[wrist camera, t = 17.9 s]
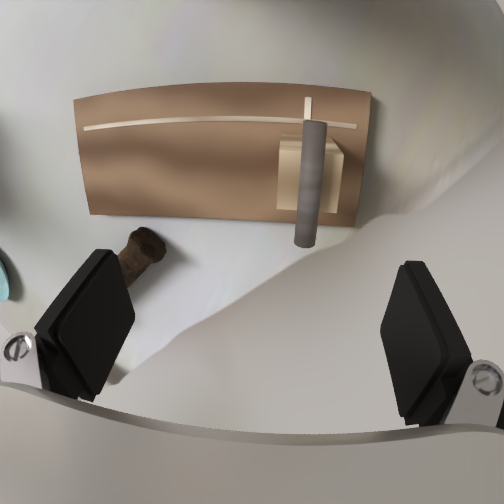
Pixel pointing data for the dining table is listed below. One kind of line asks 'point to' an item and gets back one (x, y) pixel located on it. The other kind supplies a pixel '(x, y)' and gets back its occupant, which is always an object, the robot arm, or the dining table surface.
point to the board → (212, 148)
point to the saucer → (3, 284)
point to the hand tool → (140, 253)
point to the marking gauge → (309, 178)
